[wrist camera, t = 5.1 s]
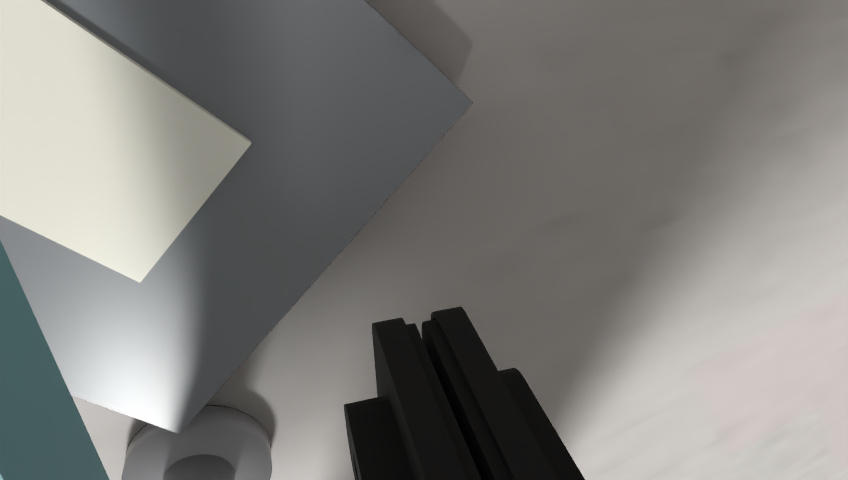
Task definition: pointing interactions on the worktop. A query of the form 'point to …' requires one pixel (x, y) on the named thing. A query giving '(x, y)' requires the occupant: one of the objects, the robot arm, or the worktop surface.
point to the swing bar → (36, 399)
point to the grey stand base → (195, 191)
